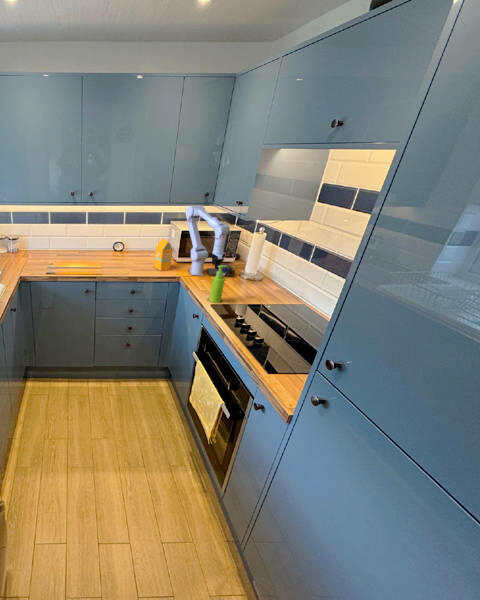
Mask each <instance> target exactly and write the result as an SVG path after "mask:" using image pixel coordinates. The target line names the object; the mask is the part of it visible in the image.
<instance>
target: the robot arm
mask: <svg viewBox="0 0 480 600" xmlns="http://www.w3.org/2000/svg"><path fill="white" fill-rule="evenodd" d="M184 213H185V217H186V224H187V227H188V231H189V236H190V240H191V244H192V248H191V249H190V260H191V266H190V269H189V273H190V275H191V276H204V275H205V274H204V265H205V261H206V260H207V259H208V257H209V252H208V251H207V248H206V247H205V246H204V245H203V244H202V240H201V236H200V232H199V227H198V223H197V221H198V220H199V219H200V218H202V219H204V221H206V222H207V225H208V226H209V227H210V228H211V229H212V230H213V232H214V244H213V248H212V252H211V253H210V256H211V265H212V266H214V268H215V269H219V267H218V266H220V265H221V264H223V262H224V261H225V258H224V257H223V256H224V255H225V254H226V252H225V251H224V250H225V244H226V239H227V235H229V234H230V230H231V228H230V226H229V225H228V224H226V223H223V222H221V221H220V220H219V219H218V217H215V216H214V217H213V216H212V215H211V214H210V213H209V212H208V211H207V210H206V208H205V206H203V205H202V204H200V205H189V206H187V207H186V209H185V211H184Z"/></svg>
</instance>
